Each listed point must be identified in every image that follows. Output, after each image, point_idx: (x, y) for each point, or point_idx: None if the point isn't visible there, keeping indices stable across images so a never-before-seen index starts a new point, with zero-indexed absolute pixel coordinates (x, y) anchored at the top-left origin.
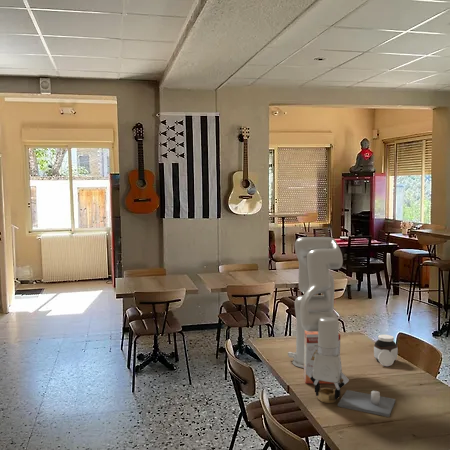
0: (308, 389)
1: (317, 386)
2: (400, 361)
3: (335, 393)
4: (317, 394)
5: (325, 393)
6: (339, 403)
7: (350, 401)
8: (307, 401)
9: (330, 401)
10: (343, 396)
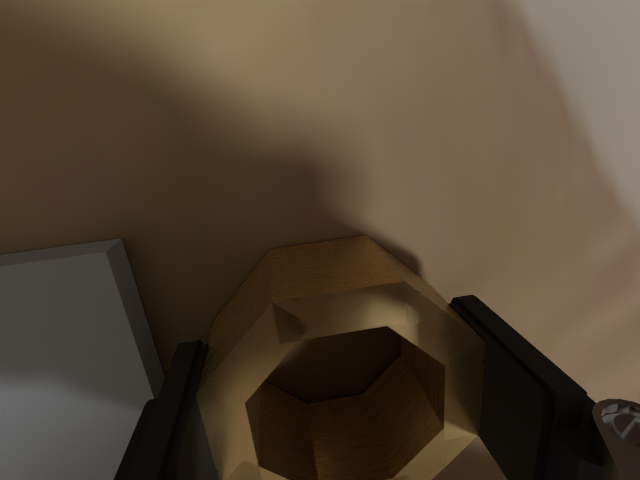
0: None
1: (548, 395)
2: None
3: (176, 407)
4: (460, 308)
5: (382, 410)
6: (89, 271)
7: (6, 414)
8: (522, 144)
9: (250, 279)
10: None
